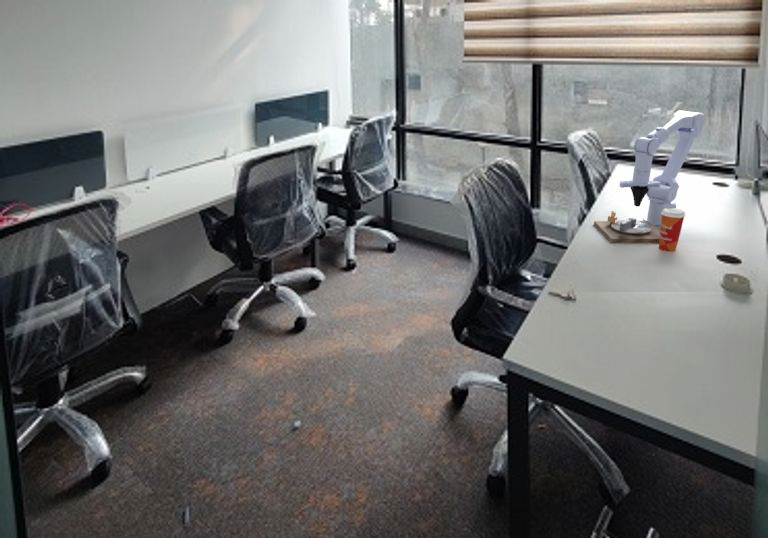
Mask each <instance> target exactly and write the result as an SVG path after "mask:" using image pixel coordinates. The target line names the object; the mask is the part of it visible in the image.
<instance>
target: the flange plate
mask: <svg viewBox="0 0 768 538" xmlns="http://www.w3.org/2000/svg"><path fill="white" fill-rule="evenodd" d="M607 221H608V222H613V223H612V224H611V227H612V229H614V230H616V231H618V232H622V233H627V234H646V233H649V232H650V231H651V226H650V225H648V224H646V223H642V222H638V221H639V220H637V218H632V217H629V218H627V219H626V220H625V219H622V220H618V217H617V216H616V215H615V216H611V215H608V216H607Z"/></svg>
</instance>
